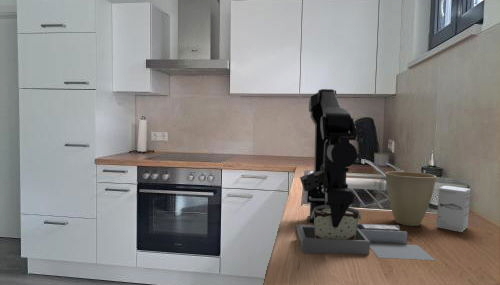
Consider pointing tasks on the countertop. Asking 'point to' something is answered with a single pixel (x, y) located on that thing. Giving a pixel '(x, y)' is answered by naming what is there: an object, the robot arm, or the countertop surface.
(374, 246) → the grey mat
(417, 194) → the plant pot
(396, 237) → the bracket
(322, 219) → the food container
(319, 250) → the case
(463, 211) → the supplement box
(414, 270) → the countertop surface
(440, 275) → the countertop surface
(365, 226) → the silver metal bar
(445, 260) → the countertop surface
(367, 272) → the countertop surface
